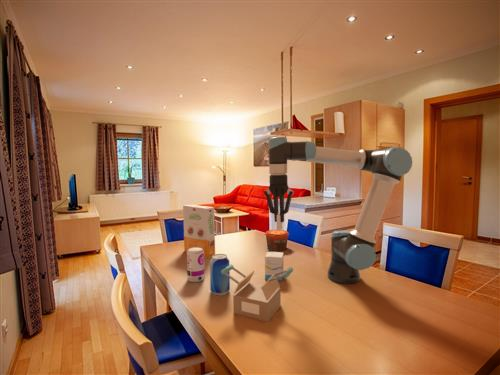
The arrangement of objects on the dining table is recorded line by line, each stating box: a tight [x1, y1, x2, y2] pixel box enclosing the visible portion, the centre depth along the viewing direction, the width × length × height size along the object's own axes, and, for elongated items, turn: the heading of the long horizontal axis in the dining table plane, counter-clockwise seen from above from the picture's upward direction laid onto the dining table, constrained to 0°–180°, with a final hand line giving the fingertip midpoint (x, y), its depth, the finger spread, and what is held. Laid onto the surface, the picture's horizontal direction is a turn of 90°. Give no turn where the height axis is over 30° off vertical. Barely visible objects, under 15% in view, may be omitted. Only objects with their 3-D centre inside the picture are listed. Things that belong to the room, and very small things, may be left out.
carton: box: [232, 281, 282, 323], centre depth 108 cm, size 14×13×7 cm
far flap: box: [221, 264, 255, 295], centre depth 111 cm, size 6×14×8 cm
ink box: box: [264, 251, 285, 282], centre depth 139 cm, size 8×8×12 cm
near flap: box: [261, 266, 294, 301], centre depth 104 cm, size 6×14×8 cm
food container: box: [264, 229, 290, 251], centre depth 189 cm, size 16×16×11 cm
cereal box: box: [182, 204, 216, 259], centre depth 178 cm, size 22×6×30 cm, turn 50°
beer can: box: [209, 253, 231, 296], centre depth 123 cm, size 8×8×16 cm
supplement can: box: [186, 247, 205, 283], centre depth 137 cm, size 8×8×15 cm
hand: (279, 229), depth 120 cm, fingers closed
